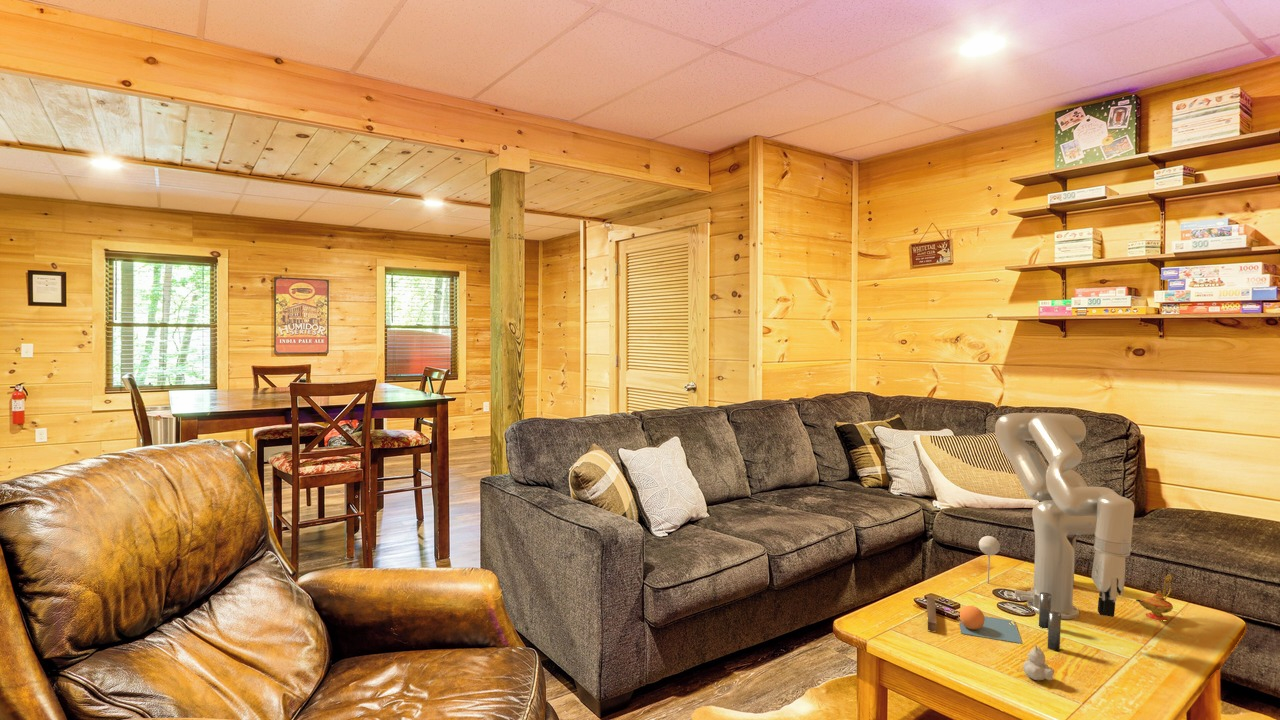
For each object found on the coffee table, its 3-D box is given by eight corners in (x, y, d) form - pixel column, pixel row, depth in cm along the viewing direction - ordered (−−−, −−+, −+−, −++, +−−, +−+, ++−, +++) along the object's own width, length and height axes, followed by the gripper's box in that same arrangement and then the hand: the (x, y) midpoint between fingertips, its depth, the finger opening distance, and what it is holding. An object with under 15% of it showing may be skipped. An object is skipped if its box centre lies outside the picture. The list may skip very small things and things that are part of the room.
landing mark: (960, 633, 173) (960, 632, 173) (957, 612, 186) (958, 611, 186) (1021, 643, 168) (1021, 643, 168) (1014, 621, 181) (1014, 620, 181)
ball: (958, 610, 175) (983, 608, 173) (956, 603, 180) (980, 602, 178) (963, 633, 174) (988, 632, 172) (960, 626, 180) (985, 624, 178)
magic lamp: (1122, 620, 182) (1124, 581, 182) (1155, 607, 191) (1157, 570, 190) (1150, 630, 176) (1152, 589, 176) (1184, 616, 185) (1186, 578, 184)
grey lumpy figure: (1030, 670, 155) (1032, 636, 155) (1060, 683, 149) (1061, 649, 149) (1017, 675, 152) (1018, 642, 152) (1046, 689, 147) (1047, 654, 146)
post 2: (1048, 649, 165) (1049, 614, 164) (1046, 645, 167) (1047, 610, 167) (1060, 651, 164) (1062, 616, 163) (1058, 647, 166) (1060, 612, 166)
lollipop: (990, 588, 204) (992, 540, 203) (973, 581, 209) (974, 535, 208) (1003, 584, 207) (1004, 537, 206) (985, 578, 212) (987, 532, 211)
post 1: (1039, 628, 177) (1040, 595, 176) (1038, 624, 179) (1039, 591, 179) (1050, 629, 176) (1052, 596, 175) (1049, 625, 178) (1050, 593, 178)
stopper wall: (927, 631, 174) (928, 622, 174) (927, 605, 191) (927, 596, 191) (936, 632, 174) (936, 623, 174) (934, 606, 190) (934, 597, 190)
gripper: (1087, 532, 174) (1081, 599, 176) (1101, 553, 160) (1095, 625, 162) (1121, 537, 171) (1115, 604, 173) (1139, 558, 157) (1132, 631, 159)
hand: (1105, 614), depth 168 cm, fingers closed
